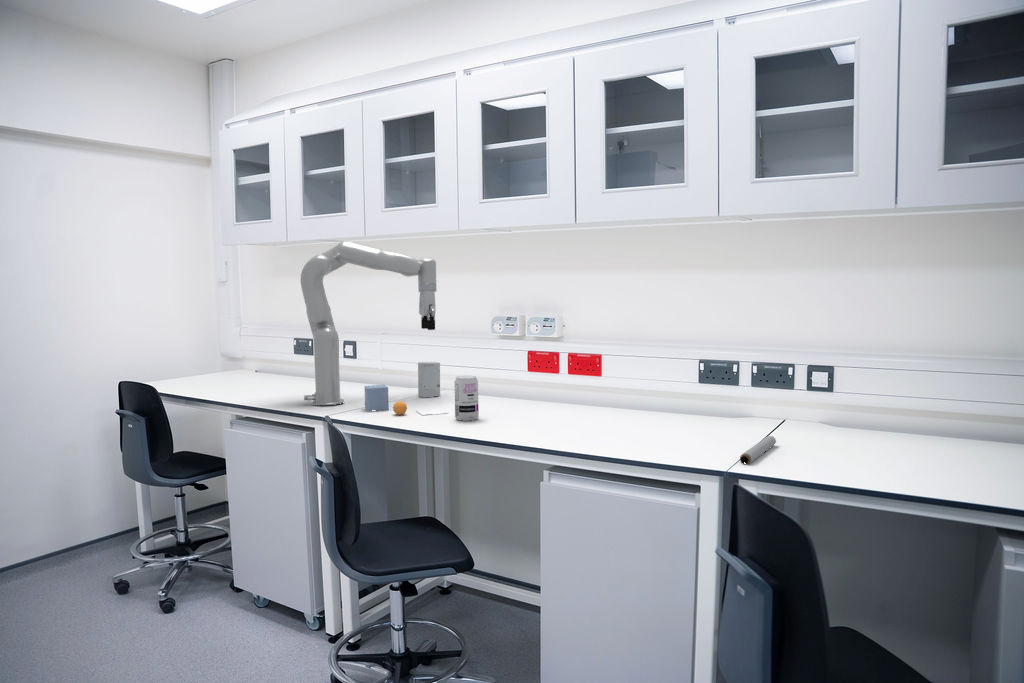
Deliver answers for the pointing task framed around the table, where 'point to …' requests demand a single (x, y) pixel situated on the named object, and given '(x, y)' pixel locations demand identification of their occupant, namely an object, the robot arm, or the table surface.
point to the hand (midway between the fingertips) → (428, 329)
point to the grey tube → (757, 450)
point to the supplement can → (466, 398)
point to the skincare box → (428, 379)
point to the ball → (400, 407)
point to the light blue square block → (376, 397)
